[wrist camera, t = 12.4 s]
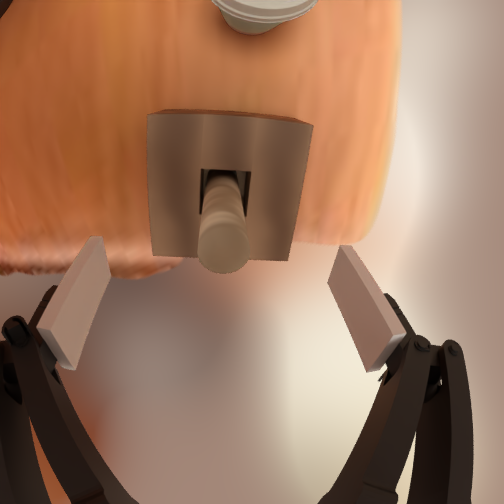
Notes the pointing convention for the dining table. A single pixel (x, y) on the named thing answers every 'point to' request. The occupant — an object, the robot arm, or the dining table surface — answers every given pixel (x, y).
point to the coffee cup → (261, 13)
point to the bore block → (225, 158)
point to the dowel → (223, 224)
